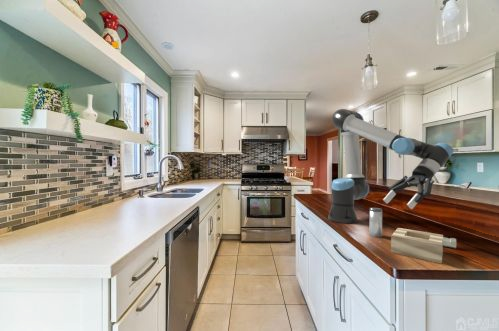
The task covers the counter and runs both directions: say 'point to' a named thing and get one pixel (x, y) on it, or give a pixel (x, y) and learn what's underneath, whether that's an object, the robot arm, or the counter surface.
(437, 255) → the socket block
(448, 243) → the pipe fitting
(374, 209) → the capped cylinder
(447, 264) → the counter surface
